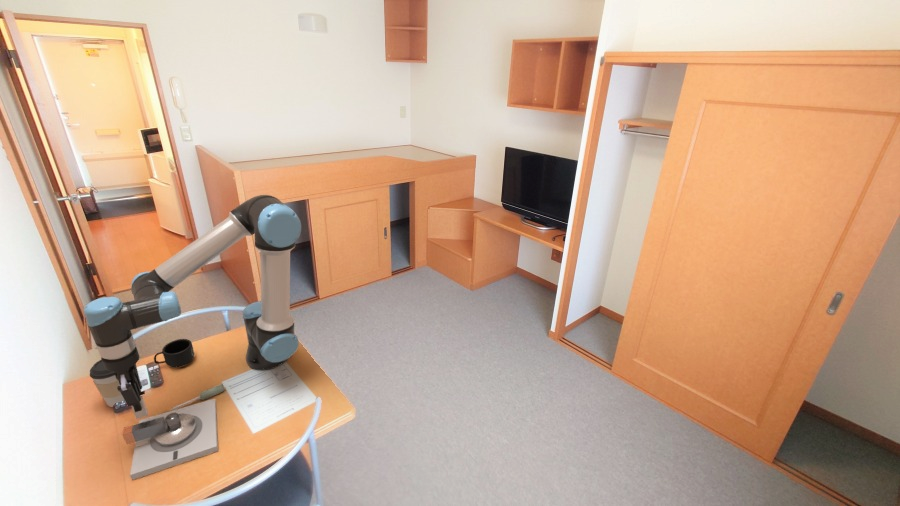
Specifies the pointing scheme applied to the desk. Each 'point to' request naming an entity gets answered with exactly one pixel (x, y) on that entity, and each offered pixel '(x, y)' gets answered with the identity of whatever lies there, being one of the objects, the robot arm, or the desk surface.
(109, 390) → the coffee cup
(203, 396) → the screwdriver
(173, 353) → the mug
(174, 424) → the dial
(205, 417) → the plate
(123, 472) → the desk surface
